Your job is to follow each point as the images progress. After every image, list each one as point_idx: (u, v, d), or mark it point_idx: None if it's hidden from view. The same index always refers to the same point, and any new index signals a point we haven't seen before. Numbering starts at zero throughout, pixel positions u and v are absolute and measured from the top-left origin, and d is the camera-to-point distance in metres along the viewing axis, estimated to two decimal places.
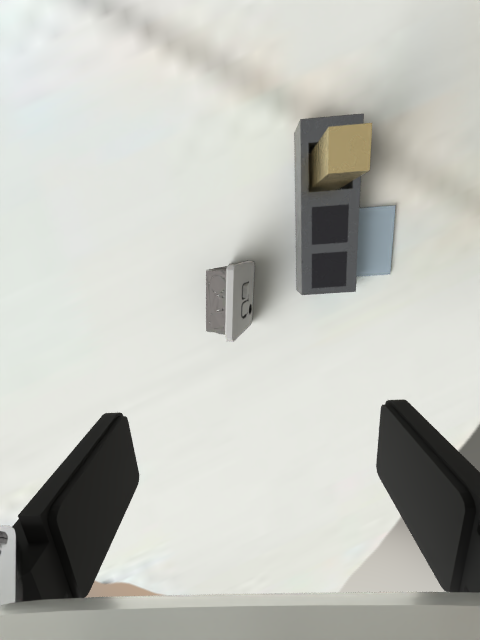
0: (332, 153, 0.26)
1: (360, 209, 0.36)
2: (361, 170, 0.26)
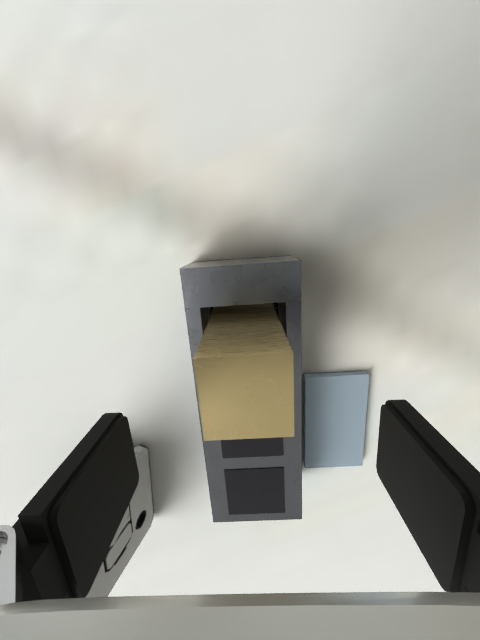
0: (208, 406, 0.12)
1: (311, 379, 0.22)
2: (276, 435, 0.12)
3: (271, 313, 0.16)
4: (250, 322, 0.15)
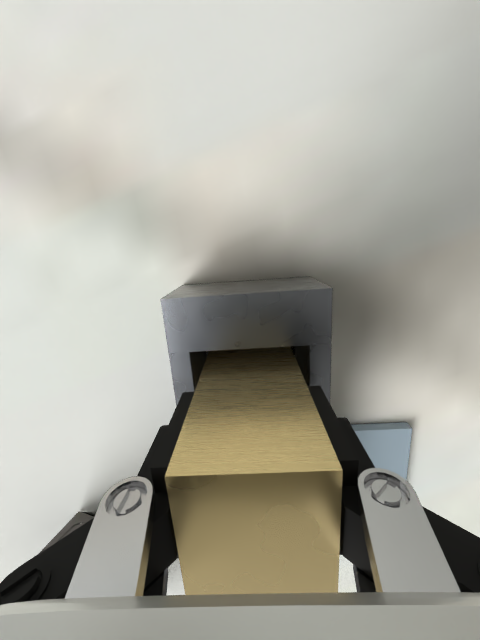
0: (193, 549, 0.07)
1: None
2: (307, 592, 0.07)
3: (290, 361, 0.12)
4: (261, 379, 0.10)
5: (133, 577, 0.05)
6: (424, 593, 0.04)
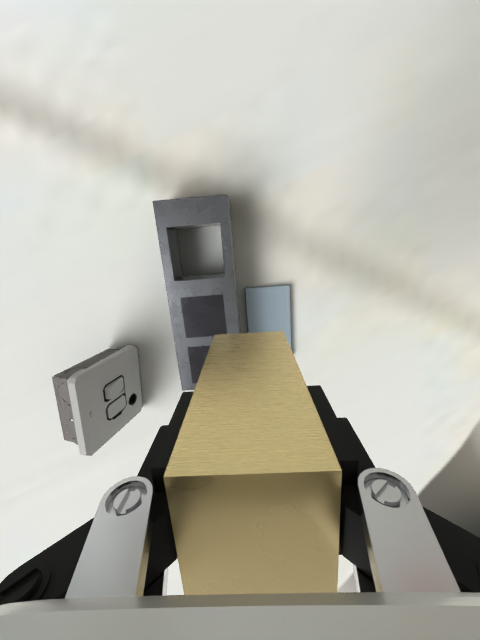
0: (192, 549, 0.07)
1: (249, 290, 0.31)
2: (306, 592, 0.07)
3: (289, 361, 0.12)
4: (260, 379, 0.10)
5: (133, 577, 0.05)
6: (424, 593, 0.04)
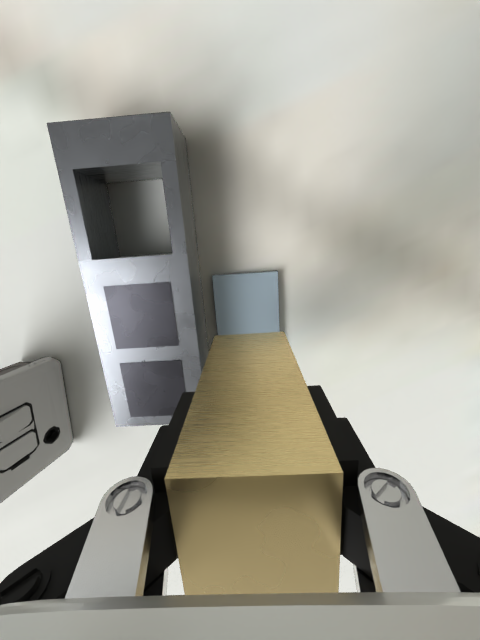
0: (193, 551, 0.07)
1: (218, 278, 0.21)
2: None
3: (290, 362, 0.12)
4: (261, 380, 0.10)
5: (133, 577, 0.05)
6: (424, 593, 0.04)
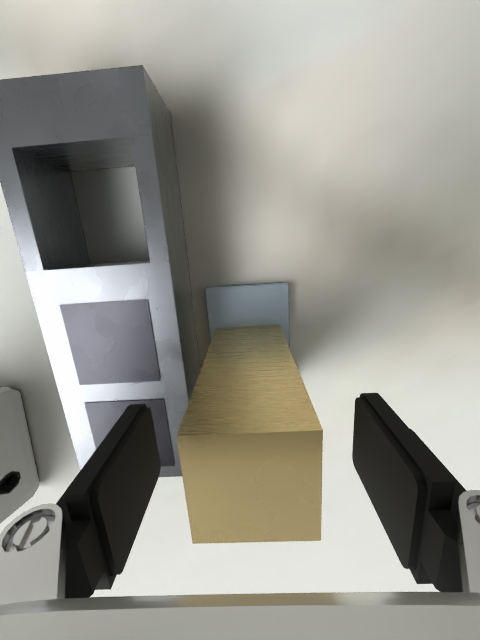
0: (199, 499, 0.08)
1: (213, 291, 0.17)
2: (295, 538, 0.08)
3: (284, 349, 0.13)
4: (257, 364, 0.12)
5: None
6: (424, 593, 0.04)
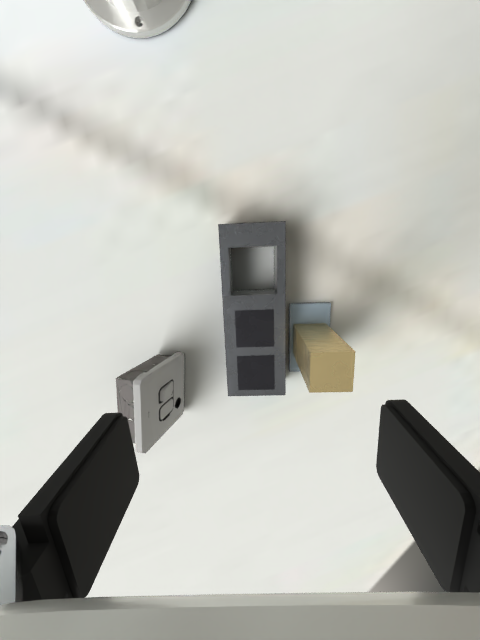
0: (314, 375, 0.25)
1: (293, 305, 0.34)
2: (344, 391, 0.26)
3: (333, 332, 0.30)
4: (324, 337, 0.29)
5: None
6: (424, 593, 0.04)
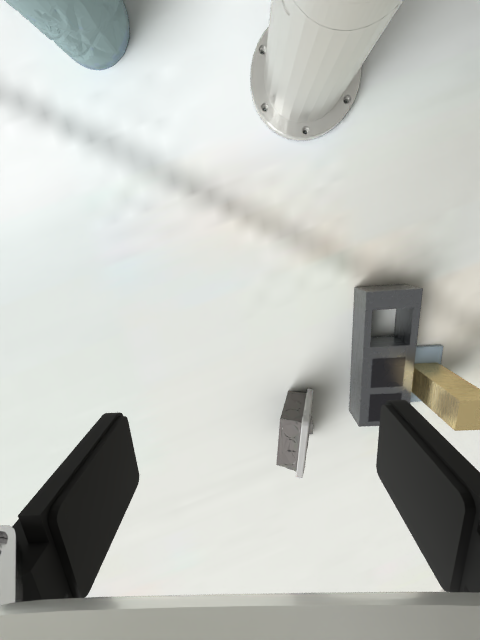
0: (460, 417, 0.32)
1: None
2: None
3: (455, 375, 0.37)
4: (453, 381, 0.35)
5: None
6: (424, 593, 0.04)
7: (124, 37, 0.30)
